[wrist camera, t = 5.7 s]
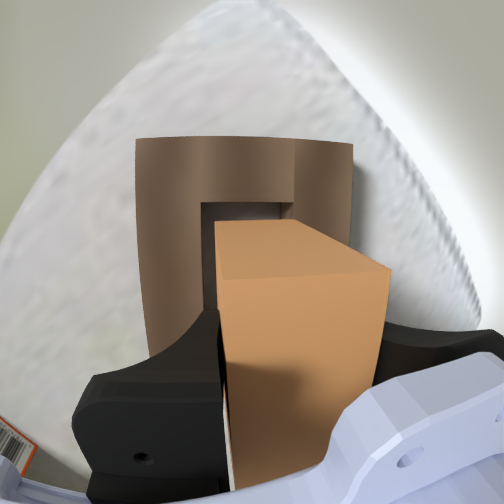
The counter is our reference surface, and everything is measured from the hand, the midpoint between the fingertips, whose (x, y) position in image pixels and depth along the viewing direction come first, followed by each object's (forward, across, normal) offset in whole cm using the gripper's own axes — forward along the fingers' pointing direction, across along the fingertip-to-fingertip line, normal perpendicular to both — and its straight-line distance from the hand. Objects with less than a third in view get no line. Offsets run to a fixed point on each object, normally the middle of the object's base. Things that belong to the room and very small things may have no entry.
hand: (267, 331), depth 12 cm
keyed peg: (+3, 0, 0) cm, 3 cm away
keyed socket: (+9, 0, 0) cm, 9 cm away
